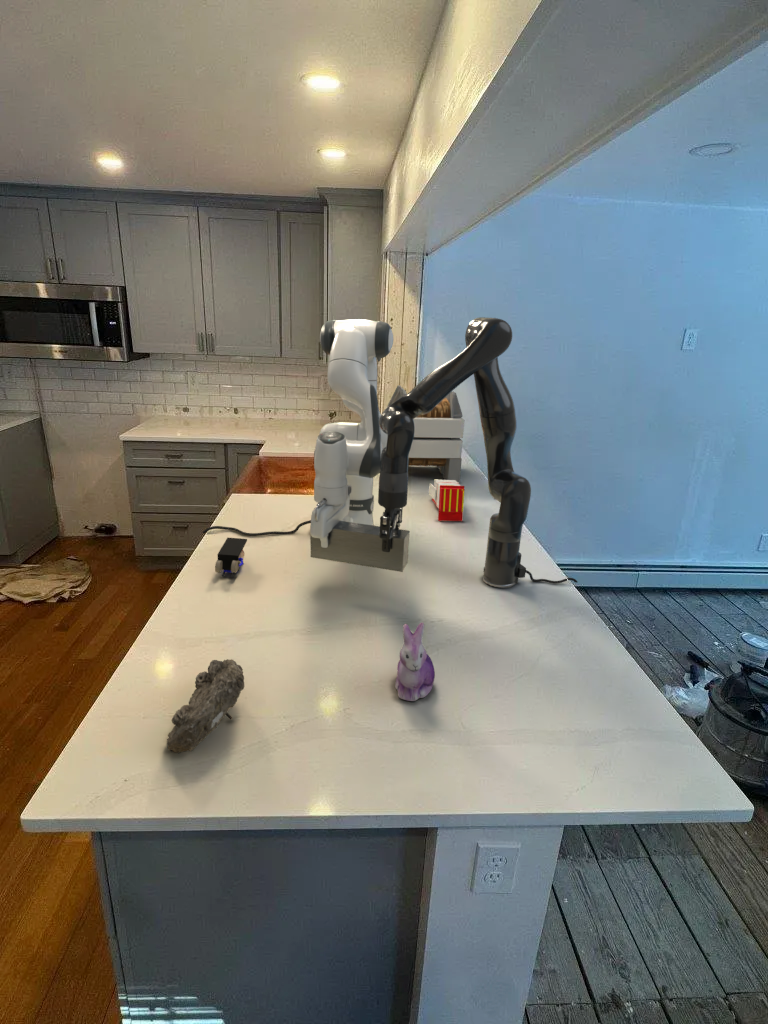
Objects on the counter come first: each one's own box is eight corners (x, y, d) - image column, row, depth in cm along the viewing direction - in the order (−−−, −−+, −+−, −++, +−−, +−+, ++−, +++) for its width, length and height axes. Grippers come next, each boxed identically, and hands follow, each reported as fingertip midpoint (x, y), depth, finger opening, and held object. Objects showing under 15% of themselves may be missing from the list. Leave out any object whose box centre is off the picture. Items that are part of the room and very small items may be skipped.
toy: (456, 475, 238) (469, 487, 209) (454, 506, 241) (466, 522, 212) (427, 474, 238) (436, 486, 209) (426, 505, 241) (434, 521, 211)
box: (310, 557, 156) (310, 525, 152) (318, 548, 161) (318, 517, 158) (402, 572, 149) (404, 538, 146) (407, 562, 155) (409, 530, 151)
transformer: (382, 463, 289) (386, 382, 275) (445, 464, 293) (451, 384, 279) (390, 482, 257) (394, 392, 243) (460, 483, 261) (468, 394, 247)
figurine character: (238, 584, 162) (249, 557, 175) (236, 562, 158) (247, 536, 172) (215, 584, 161) (227, 556, 175) (212, 561, 158) (225, 535, 171)
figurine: (406, 709, 112) (411, 644, 107) (383, 680, 121) (386, 618, 116) (446, 696, 116) (452, 633, 111) (420, 669, 125) (425, 609, 120)
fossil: (192, 660, 117) (244, 628, 112) (224, 691, 120) (276, 661, 115) (142, 746, 98) (202, 712, 93) (182, 779, 101) (242, 748, 96)
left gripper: (327, 507, 141) (327, 558, 146) (354, 484, 159) (352, 530, 164) (304, 504, 142) (304, 554, 147) (333, 482, 161) (332, 527, 166)
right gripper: (400, 497, 138) (396, 558, 144) (413, 481, 151) (410, 538, 157) (371, 493, 140) (368, 554, 145) (386, 478, 153) (384, 534, 158)
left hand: (330, 541), depth 156 cm, fingers closed on box, 6 cm apart
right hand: (390, 545), depth 151 cm, fingers open, 7 cm apart
